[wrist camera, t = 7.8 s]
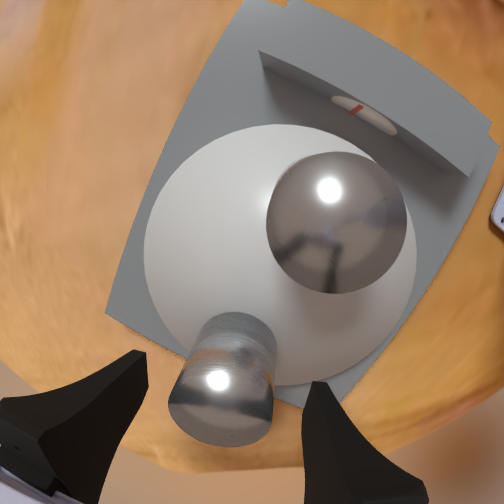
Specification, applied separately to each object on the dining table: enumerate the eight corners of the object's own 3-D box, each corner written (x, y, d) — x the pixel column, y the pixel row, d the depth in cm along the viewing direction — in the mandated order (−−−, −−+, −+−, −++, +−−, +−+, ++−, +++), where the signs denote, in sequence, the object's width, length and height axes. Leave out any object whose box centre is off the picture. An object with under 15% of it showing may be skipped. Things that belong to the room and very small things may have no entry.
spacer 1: (291, 334, 15) (292, 404, 10) (254, 387, 16) (243, 457, 11) (216, 297, 15) (188, 358, 10) (187, 356, 16) (156, 421, 11)
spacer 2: (377, 175, 13) (426, 186, 8) (344, 259, 14) (372, 310, 9) (290, 141, 13) (294, 129, 8) (259, 229, 14) (246, 267, 9)
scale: (484, 145, 14) (526, 146, 10) (324, 400, 19) (328, 444, 15) (251, 7, 13) (241, -30, 9) (116, 302, 19) (84, 332, 15)
